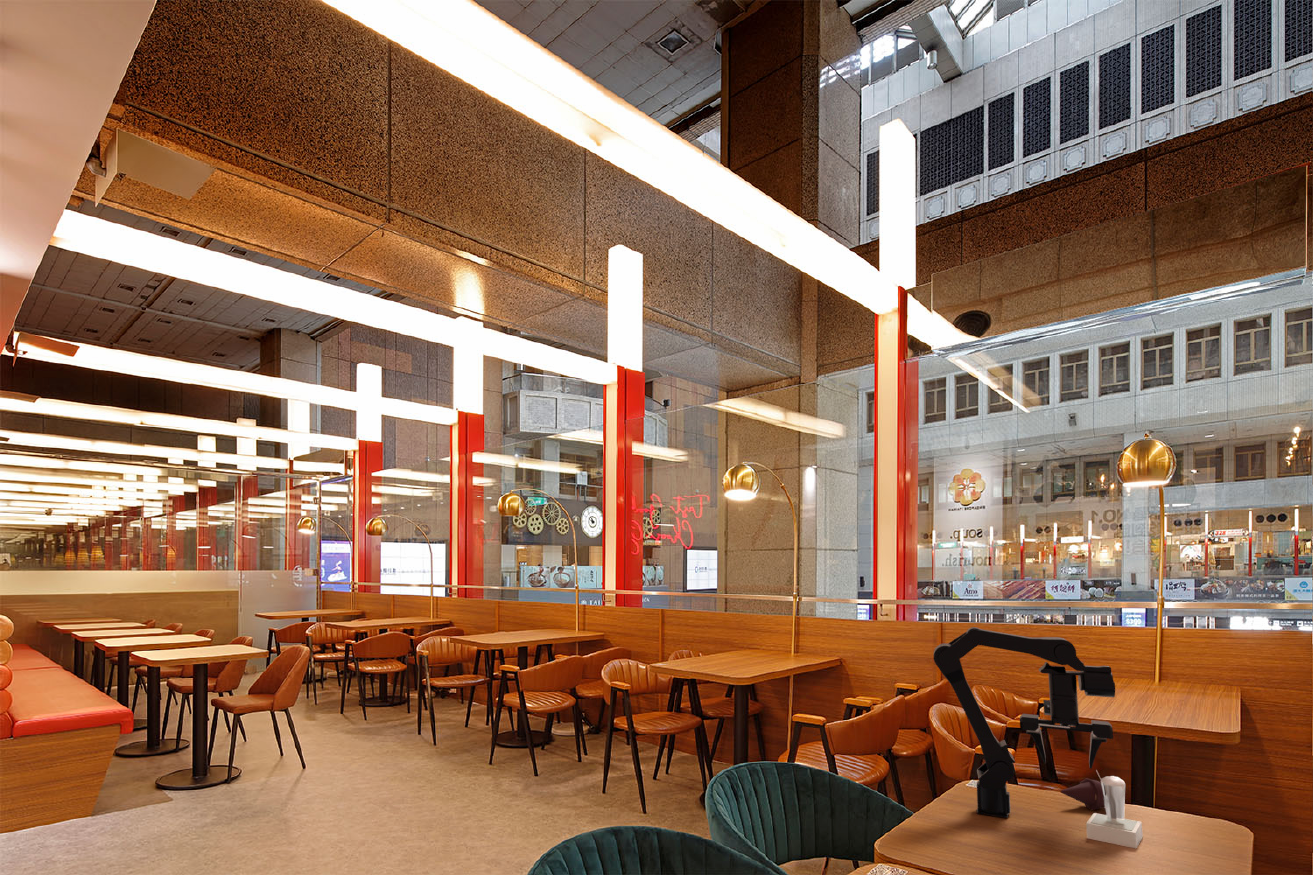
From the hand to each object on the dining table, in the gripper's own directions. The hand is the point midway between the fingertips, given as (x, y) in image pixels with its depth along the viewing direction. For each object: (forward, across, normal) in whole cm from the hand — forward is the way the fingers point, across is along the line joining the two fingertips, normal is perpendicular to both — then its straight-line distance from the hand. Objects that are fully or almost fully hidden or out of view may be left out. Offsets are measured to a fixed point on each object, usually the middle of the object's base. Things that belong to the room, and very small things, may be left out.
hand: (1067, 765), depth 178 cm
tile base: (+12, -8, +7) cm, 16 cm away
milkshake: (+9, -8, +7) cm, 14 cm away
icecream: (+12, -5, -14) cm, 19 cm away
